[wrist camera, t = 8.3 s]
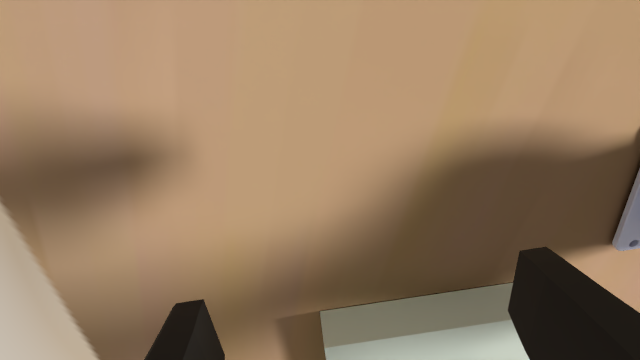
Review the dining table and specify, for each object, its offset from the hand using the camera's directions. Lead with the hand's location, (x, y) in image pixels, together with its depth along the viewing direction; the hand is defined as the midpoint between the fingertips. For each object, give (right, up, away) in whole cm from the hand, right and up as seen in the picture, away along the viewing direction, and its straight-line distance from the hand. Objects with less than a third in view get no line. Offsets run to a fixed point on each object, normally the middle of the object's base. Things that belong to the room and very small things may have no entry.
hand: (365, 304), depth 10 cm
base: (+7, -10, +20) cm, 23 cm away
